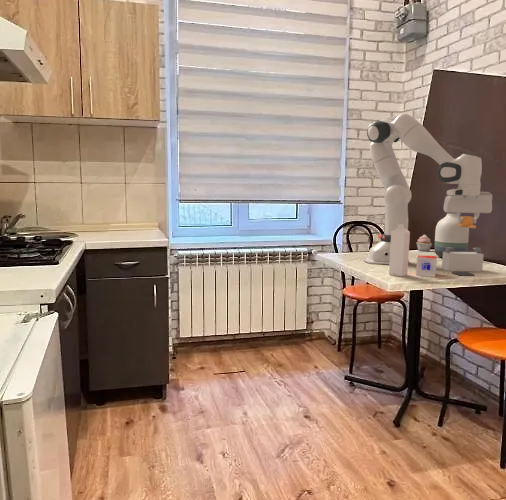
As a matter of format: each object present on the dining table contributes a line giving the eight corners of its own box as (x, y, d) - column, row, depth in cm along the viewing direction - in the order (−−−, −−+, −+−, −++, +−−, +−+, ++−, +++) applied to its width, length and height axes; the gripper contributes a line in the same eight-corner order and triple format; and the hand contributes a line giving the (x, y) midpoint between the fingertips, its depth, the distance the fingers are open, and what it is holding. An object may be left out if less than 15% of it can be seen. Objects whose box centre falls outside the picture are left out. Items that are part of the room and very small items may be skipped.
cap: (454, 225, 223) (454, 215, 222) (464, 225, 223) (464, 215, 222) (468, 228, 210) (469, 217, 209) (479, 228, 210) (480, 217, 210)
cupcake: (421, 249, 305) (422, 233, 304) (434, 251, 298) (436, 234, 296) (412, 250, 300) (413, 234, 299) (425, 252, 292) (426, 235, 291)
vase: (470, 260, 262) (473, 215, 258) (436, 259, 265) (439, 214, 261) (462, 256, 278) (466, 213, 275) (431, 255, 281) (434, 212, 278)
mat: (458, 275, 216) (458, 274, 216) (451, 272, 223) (451, 271, 222) (474, 275, 216) (474, 274, 216) (467, 273, 223) (467, 271, 223)
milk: (407, 275, 216) (410, 224, 213) (401, 276, 211) (405, 225, 208) (394, 273, 219) (397, 223, 216) (388, 274, 215) (391, 224, 212)
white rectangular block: (448, 270, 228) (449, 248, 226) (441, 268, 234) (443, 246, 233) (482, 271, 228) (484, 248, 227) (474, 268, 235) (476, 247, 234)
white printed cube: (435, 273, 220) (436, 256, 219) (435, 276, 213) (436, 258, 212) (416, 272, 223) (417, 255, 222) (415, 275, 215) (416, 257, 214)
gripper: (488, 191, 218) (486, 223, 220) (443, 190, 217) (441, 222, 219) (496, 191, 212) (493, 224, 214) (449, 191, 211) (447, 223, 213)
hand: (466, 223), depth 216 cm, fingers closed on cap, 5 cm apart
